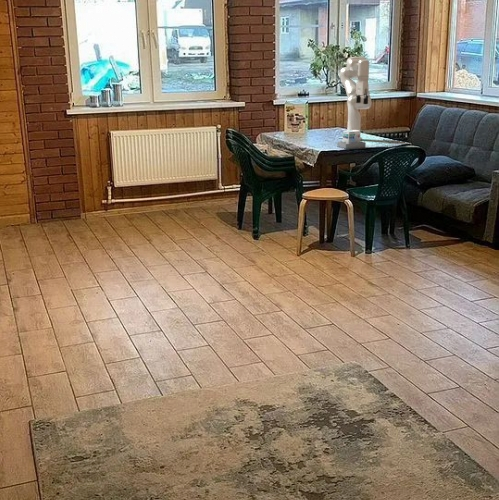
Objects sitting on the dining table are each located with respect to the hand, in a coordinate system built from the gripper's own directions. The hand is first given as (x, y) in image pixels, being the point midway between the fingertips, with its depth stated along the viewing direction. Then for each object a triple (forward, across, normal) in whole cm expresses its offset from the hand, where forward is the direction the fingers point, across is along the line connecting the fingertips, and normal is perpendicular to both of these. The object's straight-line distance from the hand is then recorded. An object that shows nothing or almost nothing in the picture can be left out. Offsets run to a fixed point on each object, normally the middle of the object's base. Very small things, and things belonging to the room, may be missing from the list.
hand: (361, 103), depth 501 cm
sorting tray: (+28, +11, -14) cm, 33 cm away
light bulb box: (+28, +11, -13) cm, 33 cm away
